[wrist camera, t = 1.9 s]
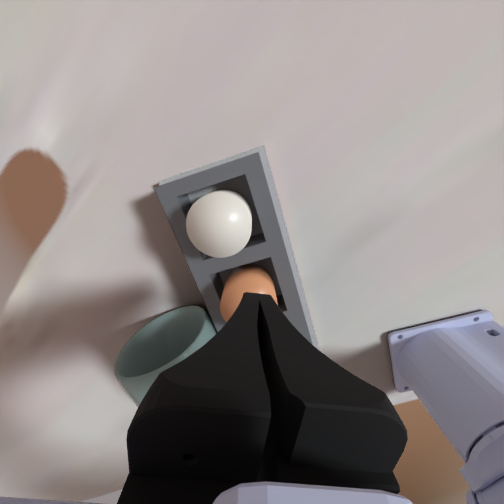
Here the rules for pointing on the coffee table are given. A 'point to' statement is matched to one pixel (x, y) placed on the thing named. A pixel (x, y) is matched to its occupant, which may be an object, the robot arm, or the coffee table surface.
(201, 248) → the white egg
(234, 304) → the orange egg
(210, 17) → the coffee table surface
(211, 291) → the gray compartment tray
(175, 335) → the cup
